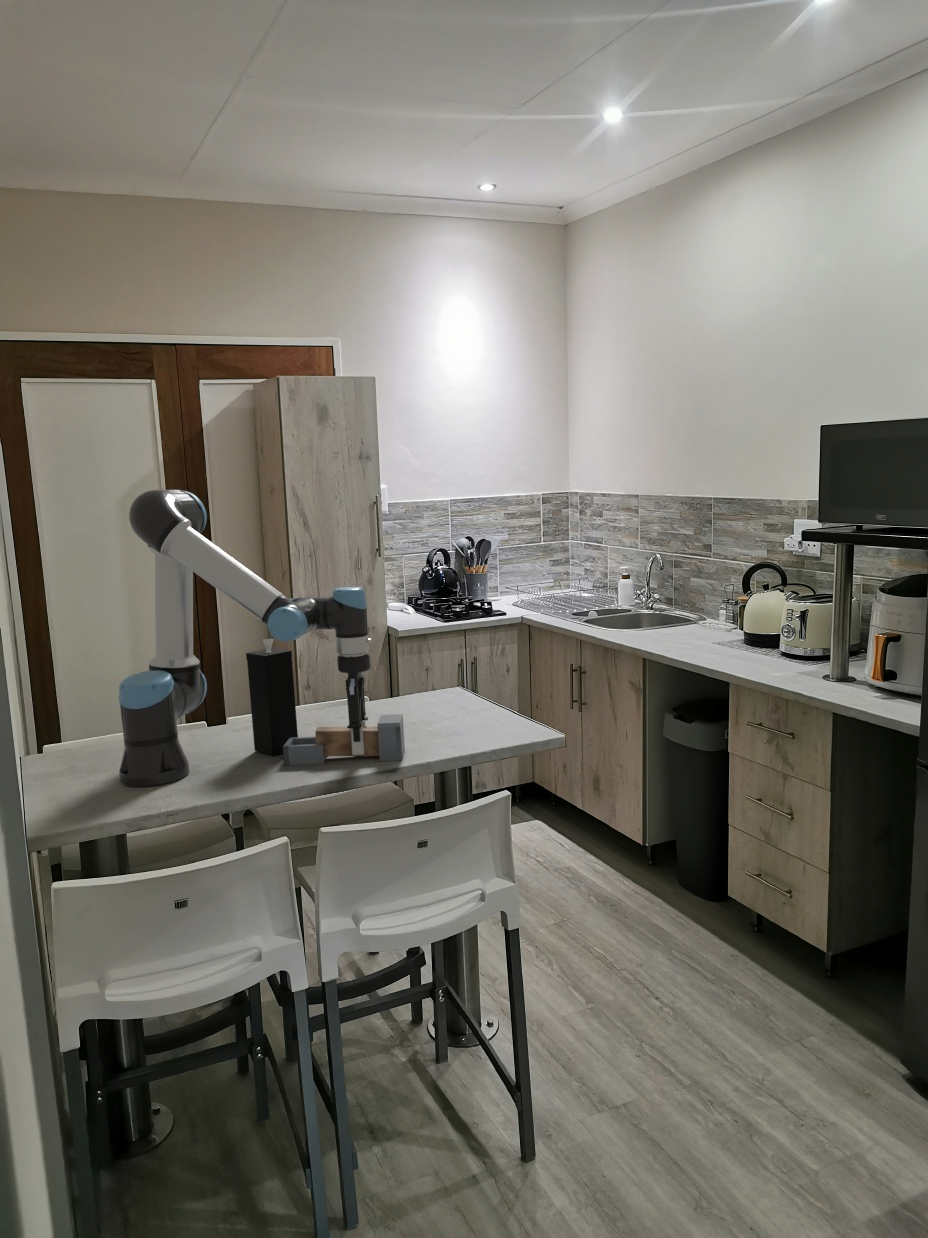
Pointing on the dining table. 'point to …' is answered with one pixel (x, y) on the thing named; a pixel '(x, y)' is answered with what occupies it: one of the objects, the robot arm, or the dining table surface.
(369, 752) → the brown wooden block
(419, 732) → the dining table surface
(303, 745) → the end cap
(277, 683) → the black tall block
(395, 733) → the end cap
